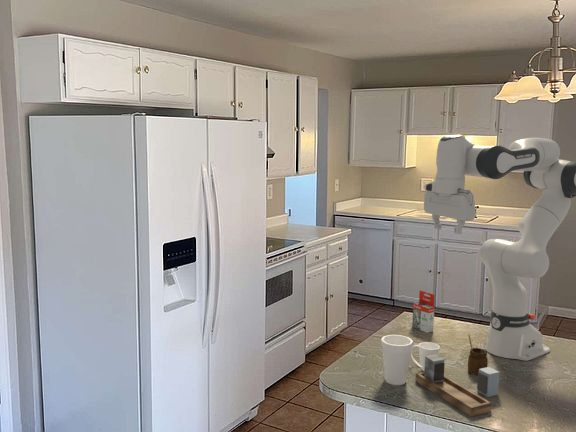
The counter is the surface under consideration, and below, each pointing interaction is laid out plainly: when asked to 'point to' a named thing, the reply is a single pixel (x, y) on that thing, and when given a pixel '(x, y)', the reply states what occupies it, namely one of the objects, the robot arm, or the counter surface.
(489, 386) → the pale grey rounded cube
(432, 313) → the ink box
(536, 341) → the robot arm
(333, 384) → the counter surface
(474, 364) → the utensil holder
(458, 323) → the counter surface
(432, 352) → the cup
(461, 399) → the rail
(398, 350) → the foam cup
